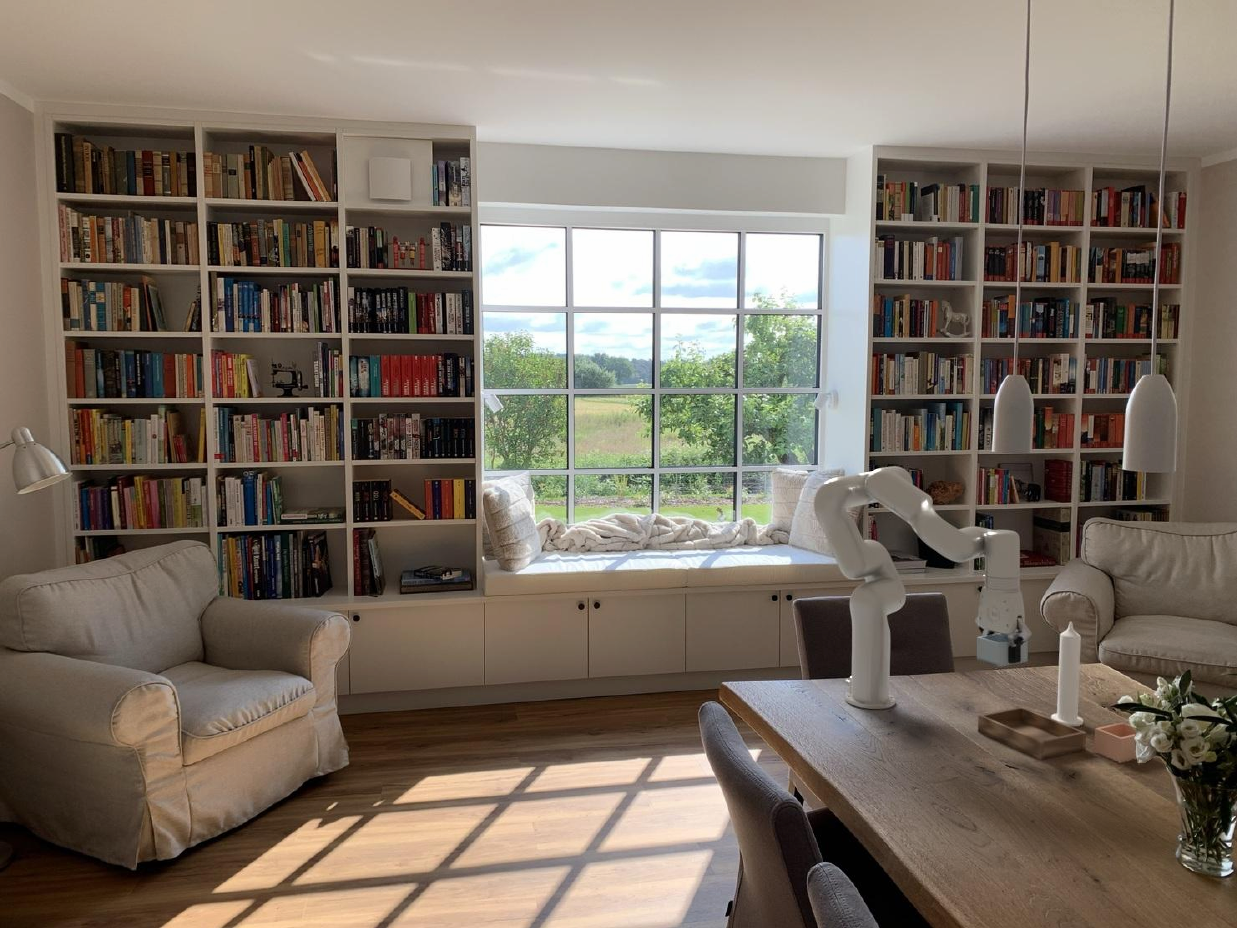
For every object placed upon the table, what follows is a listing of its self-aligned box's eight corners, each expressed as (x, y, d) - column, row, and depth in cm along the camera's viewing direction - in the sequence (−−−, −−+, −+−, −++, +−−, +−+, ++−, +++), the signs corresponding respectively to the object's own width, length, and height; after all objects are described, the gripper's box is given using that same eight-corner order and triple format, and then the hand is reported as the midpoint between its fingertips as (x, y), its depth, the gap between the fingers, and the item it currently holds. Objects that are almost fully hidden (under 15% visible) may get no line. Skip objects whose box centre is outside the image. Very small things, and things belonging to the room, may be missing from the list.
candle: (1076, 728, 215) (1080, 627, 213) (1046, 720, 220) (1049, 621, 218) (1087, 721, 219) (1092, 621, 217) (1058, 713, 225) (1062, 616, 223)
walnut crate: (977, 731, 213) (978, 715, 213) (1020, 722, 219) (1021, 706, 219) (1040, 760, 197) (1041, 742, 197) (1085, 749, 203) (1086, 732, 202)
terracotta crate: (1093, 752, 201) (1094, 728, 201) (1121, 745, 205) (1122, 722, 204) (1120, 763, 195) (1121, 738, 195) (1148, 756, 199) (1149, 732, 198)
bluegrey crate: (976, 659, 211) (976, 637, 210) (1005, 654, 214) (1005, 632, 214) (998, 666, 205) (998, 643, 204) (1027, 661, 208) (1027, 638, 208)
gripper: (962, 578, 215) (962, 652, 216) (1020, 591, 199) (1020, 670, 200) (985, 575, 218) (986, 648, 219) (1044, 587, 202) (1044, 665, 203)
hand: (1002, 658), depth 209 cm, fingers closed on bluegrey crate, 6 cm apart
